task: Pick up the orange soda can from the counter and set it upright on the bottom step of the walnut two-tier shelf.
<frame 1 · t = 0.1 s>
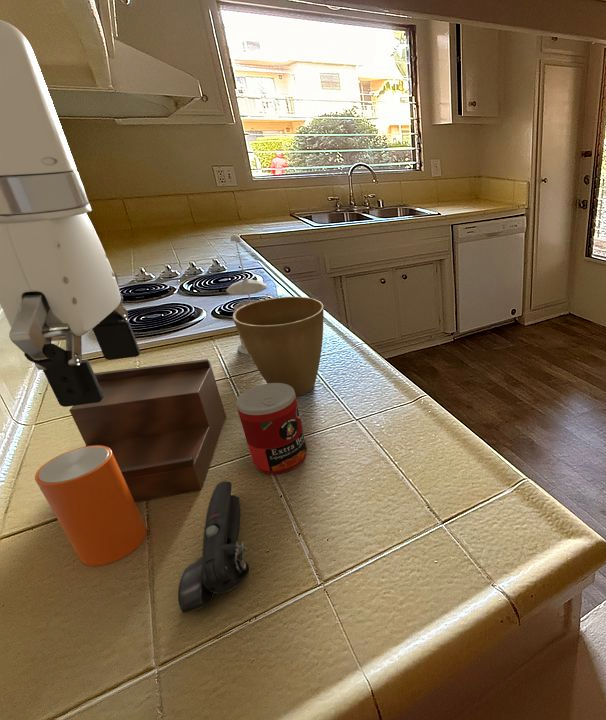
hand: (105, 378, 46), 22 cm above the worktop, tool pointing down, fingers open, 9 cm apart
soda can: (114, 542, 56), on the worktop
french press: (264, 345, 106), on the worktop
plant pot: (296, 388, 89), on the worktop
can opener: (225, 550, 55), on the worktop
step shelf: (158, 457, 70), on the worktop
canned food: (281, 459, 70), on the worktop
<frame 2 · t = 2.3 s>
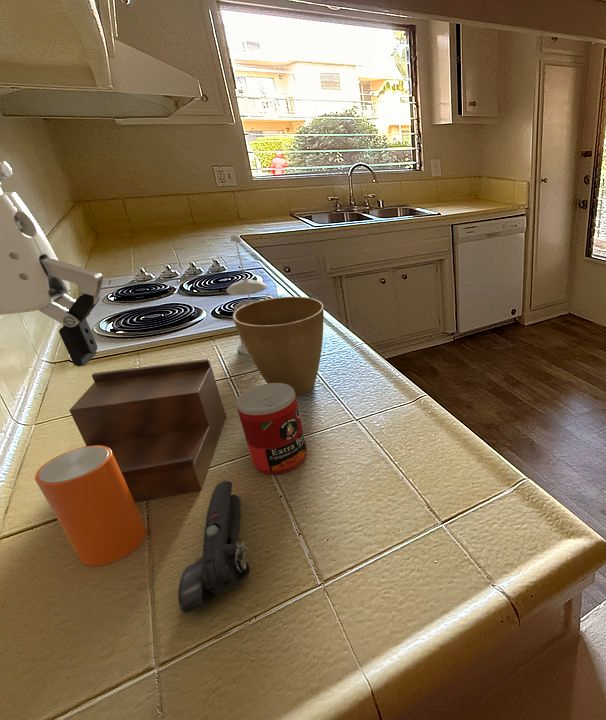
hand: (28, 367, 45), 24 cm above the worktop, tool pointing down, fingers open, 9 cm apart
nothing on the worktop moved.
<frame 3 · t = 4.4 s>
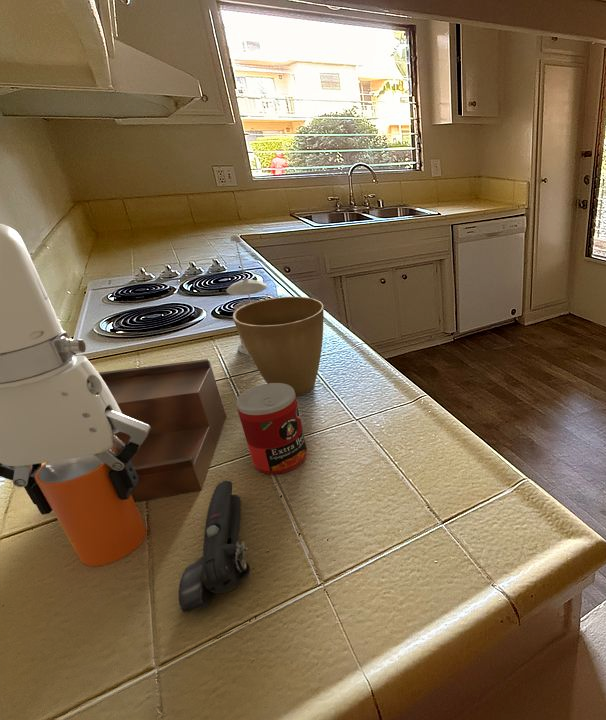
hand: (91, 497, 52), 7 cm above the worktop, tool pointing down, fingers closed on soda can, 6 cm apart
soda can: (114, 542, 56), on the worktop, touching gripper
everything else where it was.
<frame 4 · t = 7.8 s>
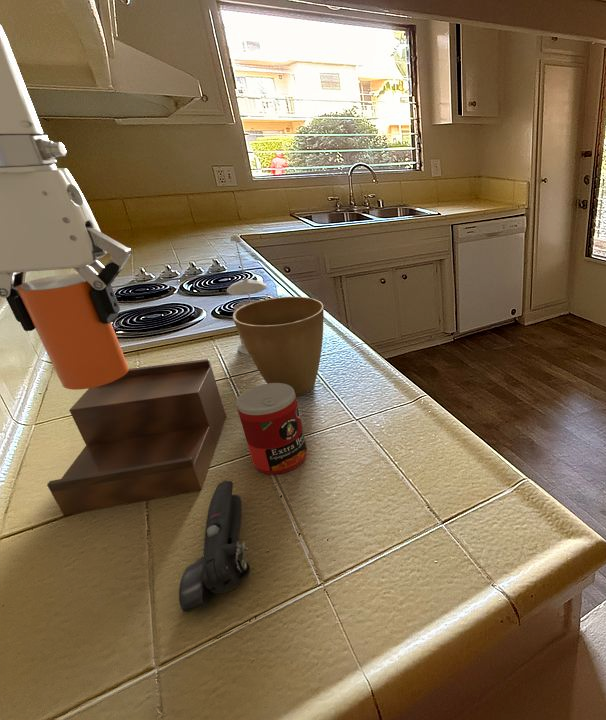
hand: (73, 321, 54), 25 cm above the worktop, tool pointing down, fingers closed on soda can, 6 cm apart
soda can: (96, 376, 57), point 17 cm above the worktop, touching gripper
everything else where it was.
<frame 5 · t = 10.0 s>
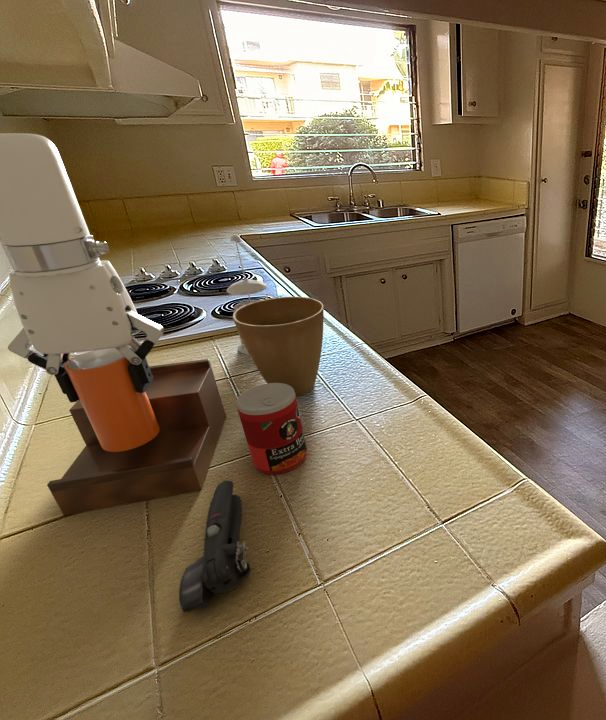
hand: (112, 391, 60), 14 cm above the worktop, tool pointing down, fingers closed on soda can, 6 cm apart
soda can: (131, 436, 63), point 7 cm above the worktop, touching gripper
everything else where it was.
when the fingers open (11 cm above the worktop, at t = 11.3 s): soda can stays where it is, resting on step shelf.
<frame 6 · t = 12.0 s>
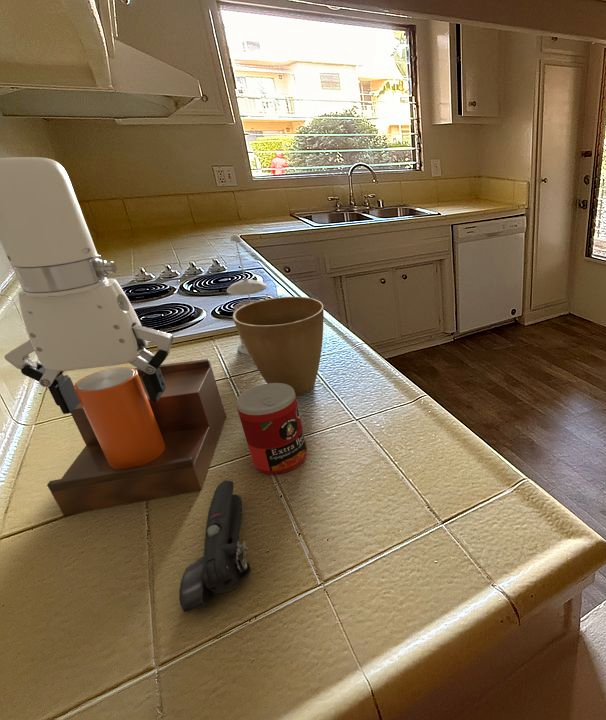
hand: (116, 402, 61), 12 cm above the worktop, tool pointing down, fingers open, 9 cm apart
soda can: (138, 454, 64), point 4 cm above the worktop, touching step shelf
everything else where it was.
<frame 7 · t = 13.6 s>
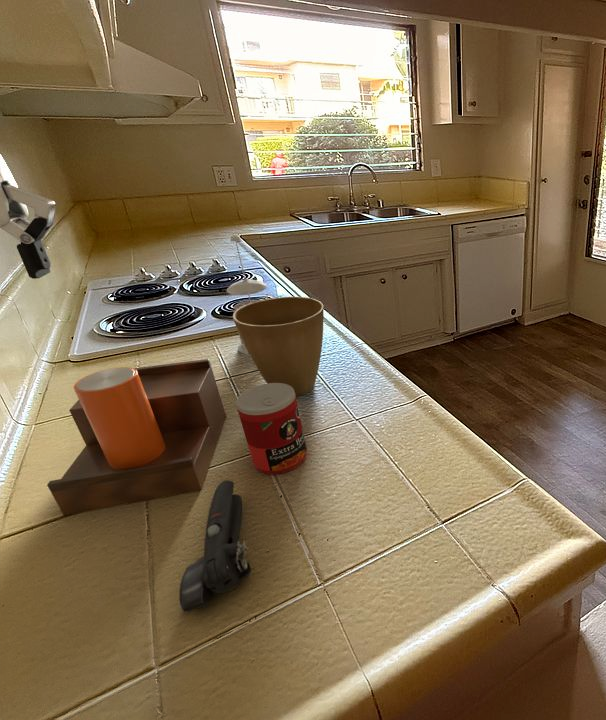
nothing on the worktop moved.
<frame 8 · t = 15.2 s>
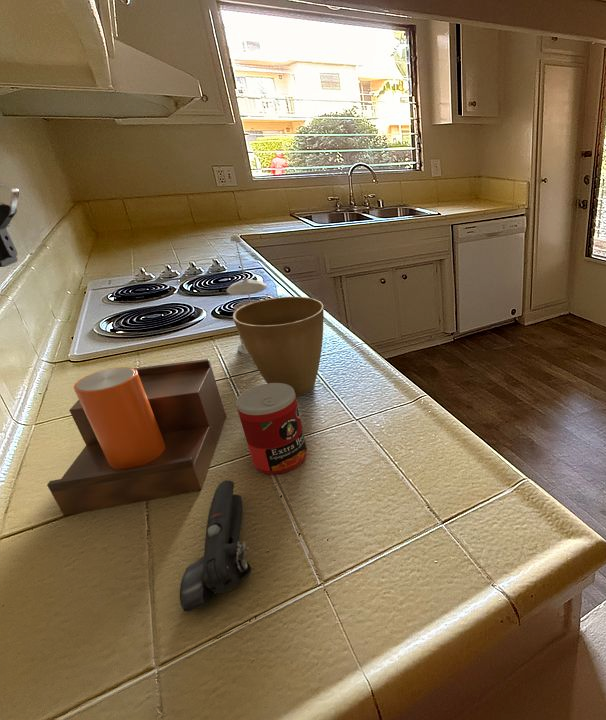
nothing on the worktop moved.
at the end: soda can inside the target area on the step shelf (0.1 cm from its centre), point 4.0 cm above the step shelf's base; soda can tilted 0°; the gripper is holding nothing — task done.
